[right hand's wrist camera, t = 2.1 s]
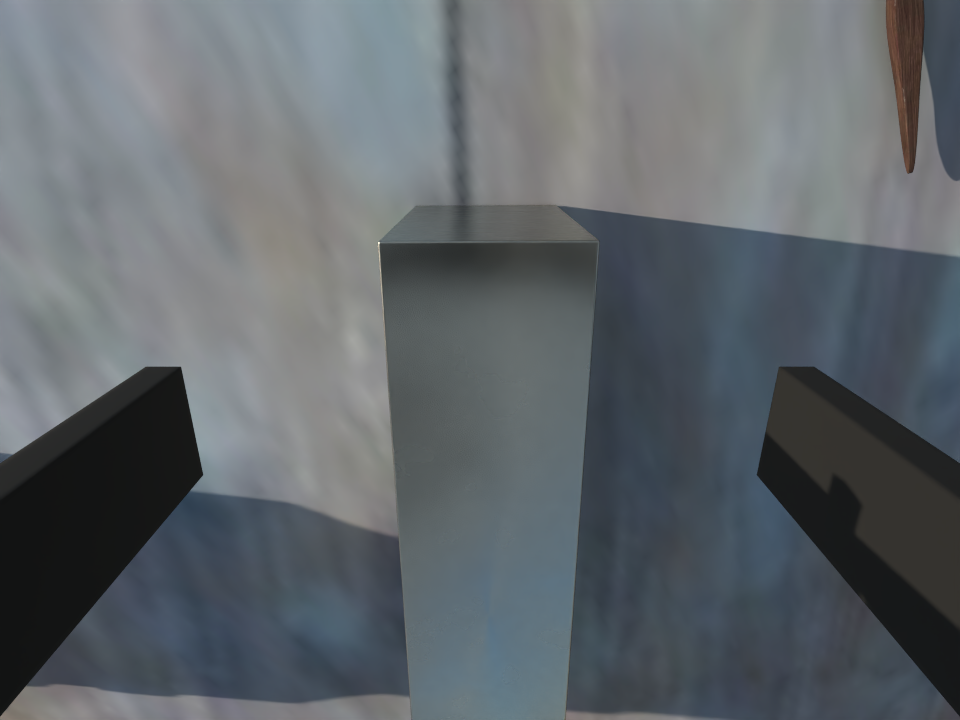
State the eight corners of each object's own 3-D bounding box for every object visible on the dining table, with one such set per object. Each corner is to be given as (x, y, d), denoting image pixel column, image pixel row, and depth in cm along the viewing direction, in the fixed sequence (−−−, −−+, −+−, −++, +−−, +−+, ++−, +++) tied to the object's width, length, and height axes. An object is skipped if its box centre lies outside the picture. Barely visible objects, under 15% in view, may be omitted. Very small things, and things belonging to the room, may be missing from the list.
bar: (414, 205, 24) (377, 241, 15) (556, 205, 24) (600, 240, 15) (435, 661, 33) (419, 844, 24) (537, 661, 33) (556, 843, 24)
